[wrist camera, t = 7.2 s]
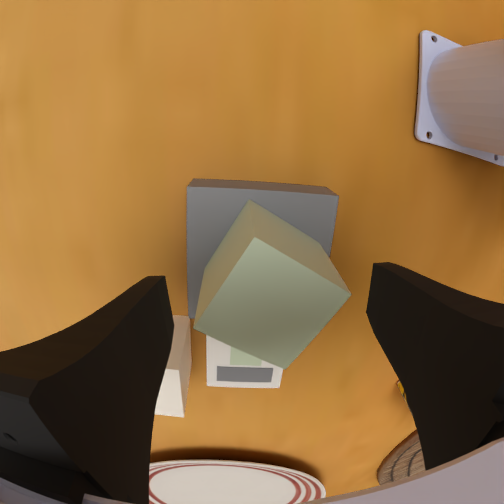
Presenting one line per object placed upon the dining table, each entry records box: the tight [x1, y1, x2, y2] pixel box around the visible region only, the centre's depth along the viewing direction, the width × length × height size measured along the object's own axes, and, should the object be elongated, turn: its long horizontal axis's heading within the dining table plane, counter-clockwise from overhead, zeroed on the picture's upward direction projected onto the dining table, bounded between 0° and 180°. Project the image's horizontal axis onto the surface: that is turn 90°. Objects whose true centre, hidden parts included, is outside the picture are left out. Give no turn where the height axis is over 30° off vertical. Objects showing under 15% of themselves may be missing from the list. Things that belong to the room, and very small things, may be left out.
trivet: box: [377, 429, 425, 485], centre depth 33 cm, size 25×25×2 cm
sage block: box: [193, 199, 352, 369], centre depth 15 cm, size 5×5×6 cm
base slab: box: [187, 179, 339, 319], centre depth 19 cm, size 8×8×3 cm
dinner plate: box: [149, 460, 326, 504], centre depth 32 cm, size 28×27×3 cm
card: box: [206, 335, 283, 388], centre depth 23 cm, size 6×6×1 cm
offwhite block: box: [155, 315, 192, 417], centre depth 20 cm, size 5×5×6 cm
